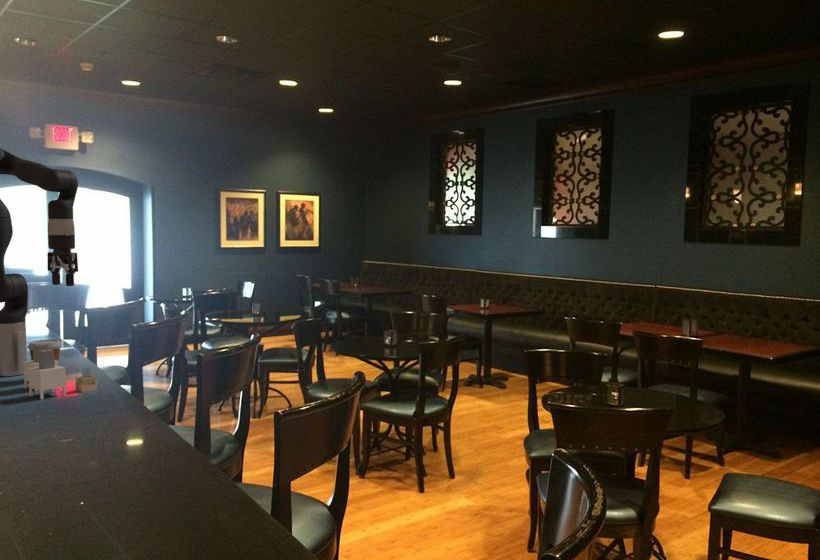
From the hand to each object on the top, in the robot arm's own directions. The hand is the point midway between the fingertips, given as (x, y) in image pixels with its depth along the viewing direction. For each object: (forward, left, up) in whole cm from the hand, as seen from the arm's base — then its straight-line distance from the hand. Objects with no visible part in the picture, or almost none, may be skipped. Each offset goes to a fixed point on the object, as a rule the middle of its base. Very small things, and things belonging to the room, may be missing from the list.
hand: (63, 285), depth 216 cm
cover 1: (+5, -10, -30) cm, 32 cm away
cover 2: (+17, -14, -30) cm, 37 cm away
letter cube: (+19, -4, -30) cm, 36 cm away
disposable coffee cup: (-7, -3, -30) cm, 31 cm away
